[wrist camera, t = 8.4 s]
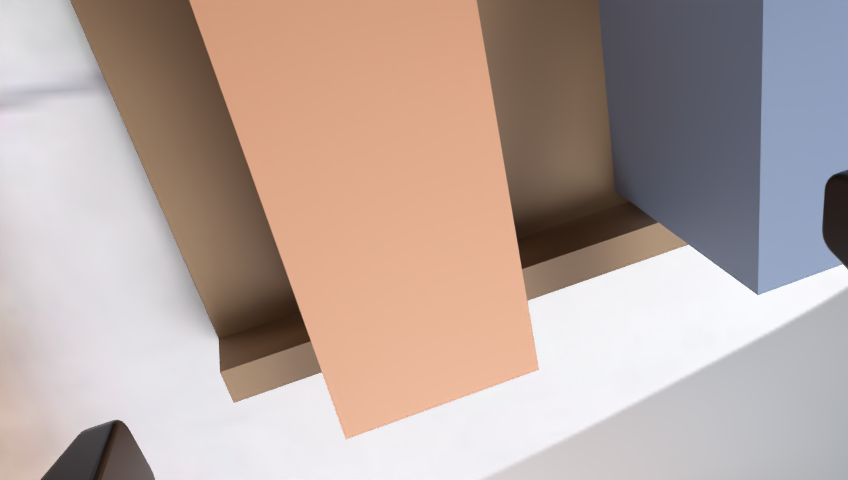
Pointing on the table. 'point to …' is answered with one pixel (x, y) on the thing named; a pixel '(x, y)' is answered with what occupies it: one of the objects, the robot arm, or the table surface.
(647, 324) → the table surface
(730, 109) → the pale blue box
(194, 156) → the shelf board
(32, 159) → the table surface
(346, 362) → the light orange box
